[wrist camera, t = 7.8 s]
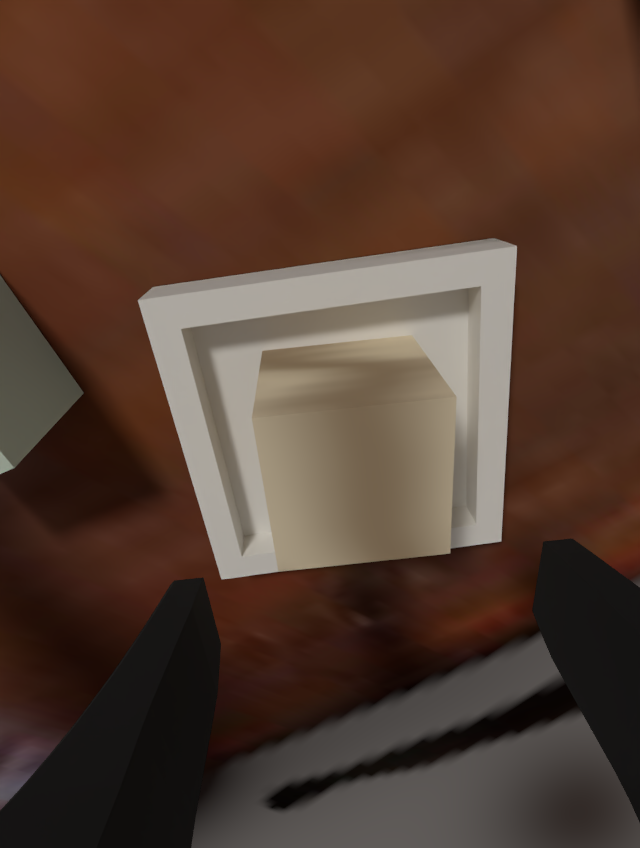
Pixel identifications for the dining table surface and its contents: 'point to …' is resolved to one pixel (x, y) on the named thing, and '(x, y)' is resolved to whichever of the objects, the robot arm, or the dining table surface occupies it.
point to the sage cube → (28, 383)
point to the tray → (325, 324)
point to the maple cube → (355, 452)
